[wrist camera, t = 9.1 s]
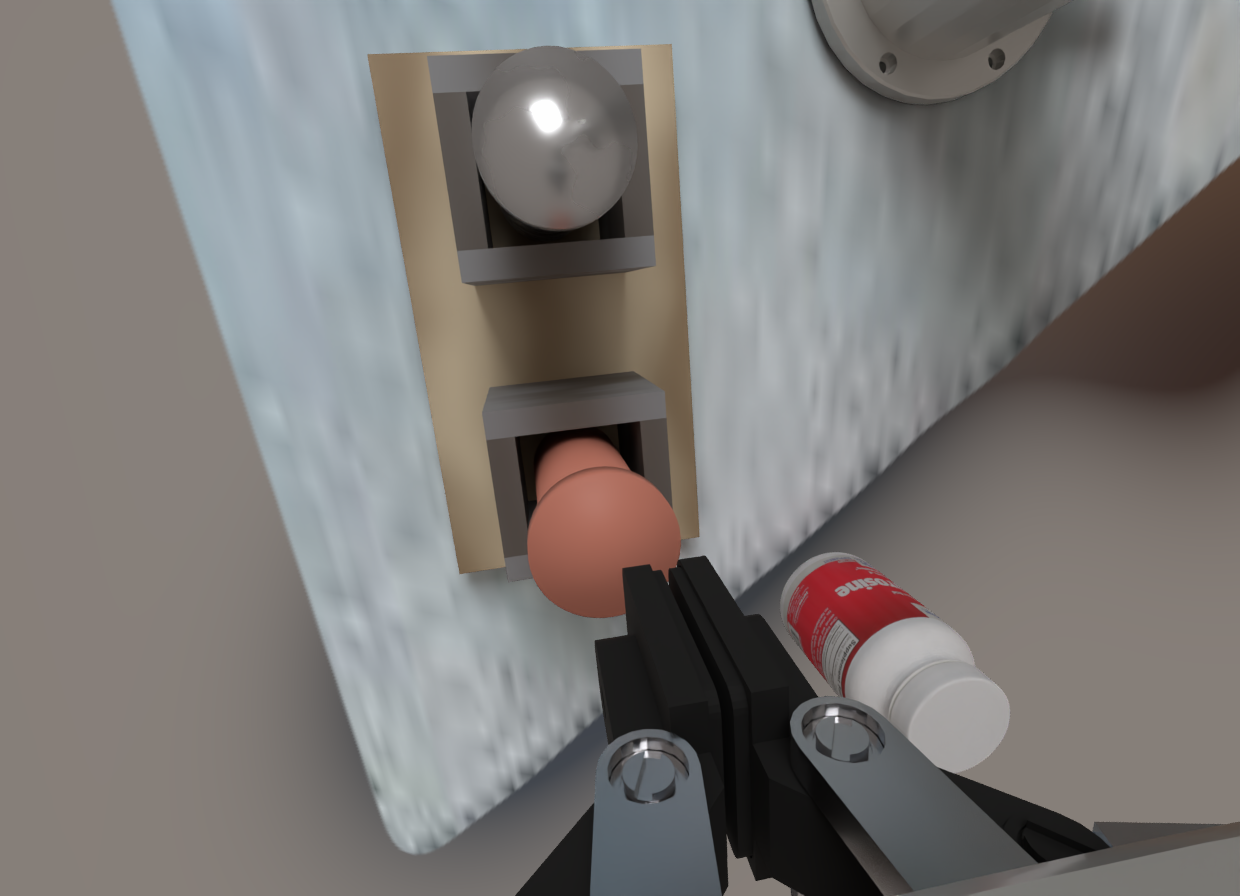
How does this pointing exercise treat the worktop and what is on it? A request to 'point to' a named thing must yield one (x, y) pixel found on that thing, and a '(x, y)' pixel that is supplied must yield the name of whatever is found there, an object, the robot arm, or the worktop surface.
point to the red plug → (594, 523)
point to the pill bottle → (894, 659)
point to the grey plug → (553, 140)
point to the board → (538, 302)
